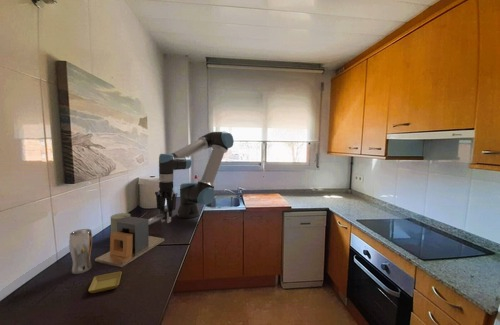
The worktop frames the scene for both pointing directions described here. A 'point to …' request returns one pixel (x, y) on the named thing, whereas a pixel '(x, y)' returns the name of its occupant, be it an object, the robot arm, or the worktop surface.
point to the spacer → (115, 244)
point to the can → (117, 220)
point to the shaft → (158, 217)
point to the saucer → (105, 282)
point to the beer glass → (81, 250)
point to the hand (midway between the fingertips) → (166, 221)
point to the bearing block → (139, 243)
